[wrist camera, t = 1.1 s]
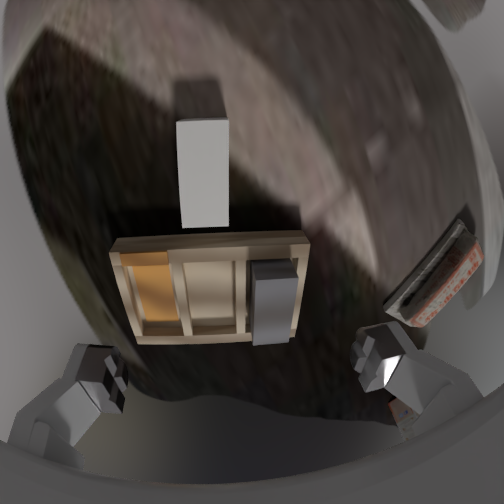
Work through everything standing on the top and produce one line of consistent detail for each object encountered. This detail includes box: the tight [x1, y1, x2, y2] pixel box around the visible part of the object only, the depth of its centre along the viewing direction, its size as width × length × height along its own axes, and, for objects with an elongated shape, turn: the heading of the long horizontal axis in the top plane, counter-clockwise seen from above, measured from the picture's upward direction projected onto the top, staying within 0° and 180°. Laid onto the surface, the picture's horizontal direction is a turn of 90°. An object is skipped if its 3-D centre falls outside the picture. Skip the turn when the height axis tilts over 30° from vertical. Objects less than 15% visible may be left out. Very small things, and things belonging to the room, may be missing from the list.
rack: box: [109, 230, 310, 345], centre depth 29 cm, size 13×20×6 cm
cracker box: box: [388, 398, 420, 442], centre depth 53 cm, size 14×6×21 cm, turn 49°
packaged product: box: [383, 219, 484, 328], centre depth 35 cm, size 18×5×10 cm
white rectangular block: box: [176, 117, 229, 228], centre depth 23 cm, size 9×4×4 cm, turn 178°
